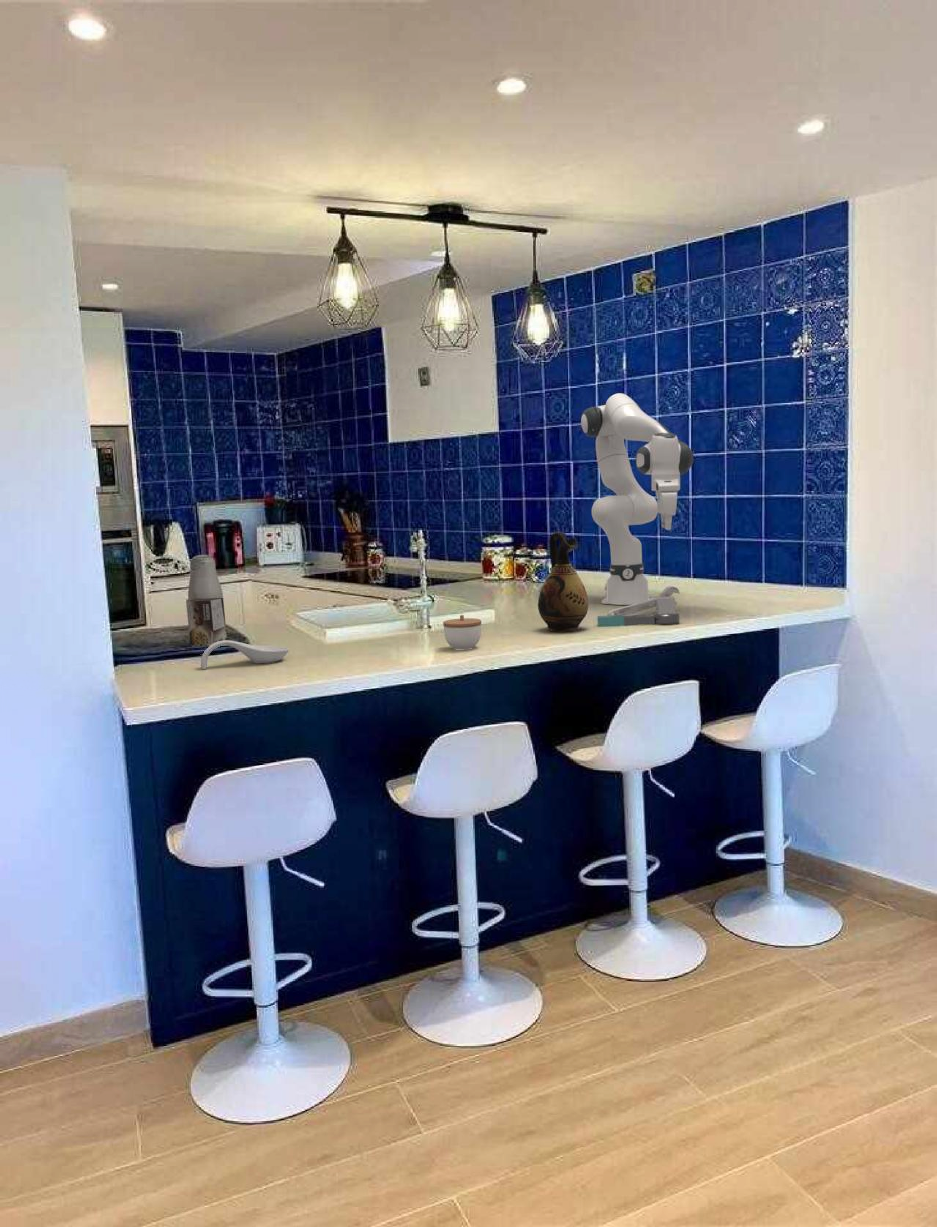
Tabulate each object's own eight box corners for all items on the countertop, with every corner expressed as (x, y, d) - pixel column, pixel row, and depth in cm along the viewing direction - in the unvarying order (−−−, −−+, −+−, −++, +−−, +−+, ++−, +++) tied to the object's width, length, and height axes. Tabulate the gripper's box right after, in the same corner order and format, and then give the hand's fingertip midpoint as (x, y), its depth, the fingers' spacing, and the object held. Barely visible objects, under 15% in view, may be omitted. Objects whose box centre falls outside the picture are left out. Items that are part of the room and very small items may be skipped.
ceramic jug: (599, 629, 291) (596, 530, 287) (556, 635, 284) (553, 534, 280) (567, 623, 306) (564, 529, 302) (526, 629, 299) (522, 532, 295)
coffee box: (229, 651, 285) (224, 597, 283) (215, 655, 279) (210, 600, 277) (203, 650, 288) (199, 597, 286) (190, 654, 282) (185, 600, 280)
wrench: (608, 628, 313) (678, 607, 327) (612, 628, 311) (681, 608, 325) (605, 604, 311) (675, 584, 325) (609, 604, 310) (679, 585, 324)
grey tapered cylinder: (201, 641, 307) (193, 553, 303) (231, 640, 305) (224, 552, 302) (187, 646, 298) (179, 556, 294) (218, 646, 296) (210, 555, 292)
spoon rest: (284, 656, 272) (282, 631, 271) (293, 662, 262) (292, 636, 261) (198, 666, 263) (196, 640, 262) (205, 673, 252) (202, 646, 251)
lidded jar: (485, 644, 274) (483, 612, 273) (478, 651, 264) (477, 617, 263) (448, 645, 276) (447, 613, 275) (440, 651, 266) (439, 618, 265)
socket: (656, 612, 299) (656, 596, 299) (673, 612, 299) (672, 596, 298) (658, 615, 294) (658, 598, 294) (675, 614, 294) (674, 598, 293)
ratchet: (597, 623, 303) (596, 604, 302) (677, 620, 301) (677, 601, 300) (598, 627, 295) (597, 608, 294) (681, 624, 293) (680, 605, 292)
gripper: (652, 484, 313) (653, 527, 315) (659, 485, 293) (659, 531, 295) (671, 483, 313) (672, 526, 315) (680, 485, 293) (680, 530, 295)
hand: (666, 528), depth 305 cm, fingers open, 8 cm apart
